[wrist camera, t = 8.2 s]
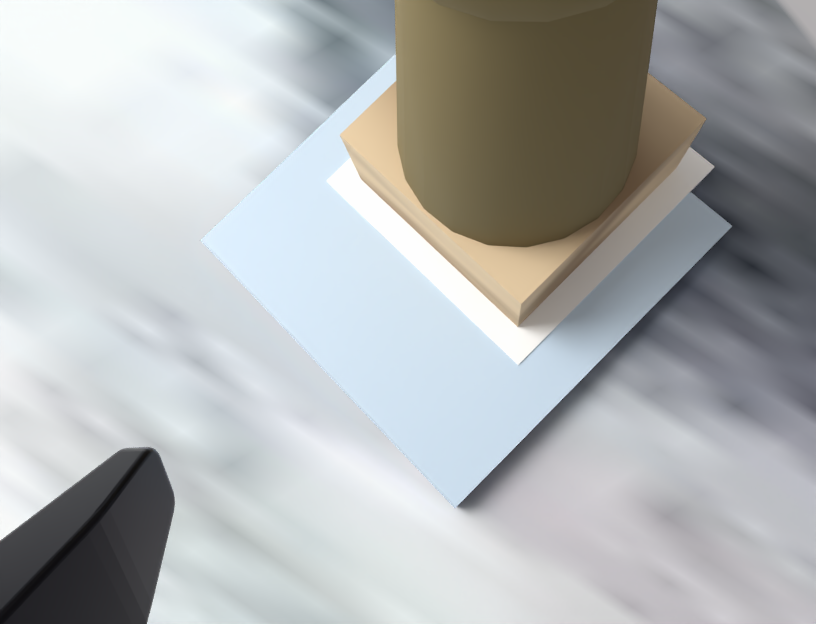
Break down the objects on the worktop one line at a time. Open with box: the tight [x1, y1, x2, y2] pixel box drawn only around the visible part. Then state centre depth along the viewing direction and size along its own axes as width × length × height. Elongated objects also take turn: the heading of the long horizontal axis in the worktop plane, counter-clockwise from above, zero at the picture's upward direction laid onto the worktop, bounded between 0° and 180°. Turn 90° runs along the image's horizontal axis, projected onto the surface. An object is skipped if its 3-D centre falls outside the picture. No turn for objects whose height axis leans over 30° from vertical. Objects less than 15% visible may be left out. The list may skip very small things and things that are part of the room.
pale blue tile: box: [200, 54, 732, 508], centre depth 21 cm, size 12×11×1 cm
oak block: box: [340, 73, 706, 327], centre depth 20 cm, size 6×6×3 cm
